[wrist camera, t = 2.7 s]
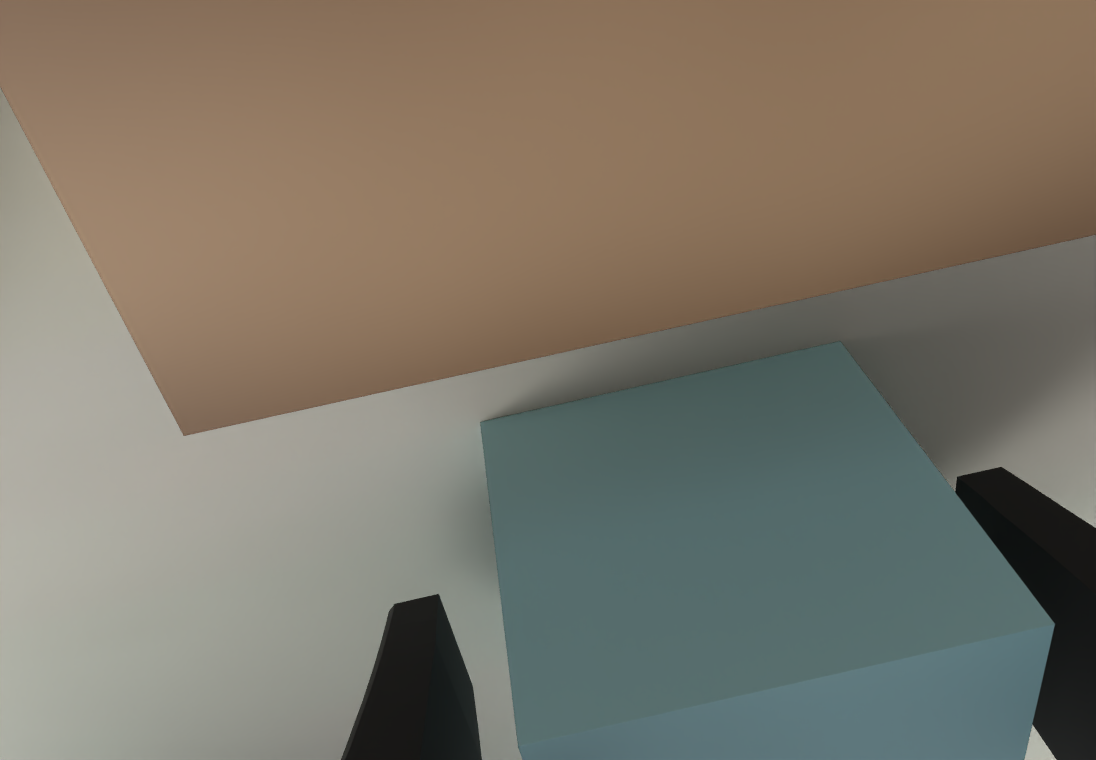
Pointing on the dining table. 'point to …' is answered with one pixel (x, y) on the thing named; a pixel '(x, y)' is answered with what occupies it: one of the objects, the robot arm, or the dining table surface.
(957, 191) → the brown block
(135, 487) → the dining table surface
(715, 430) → the teal cube
